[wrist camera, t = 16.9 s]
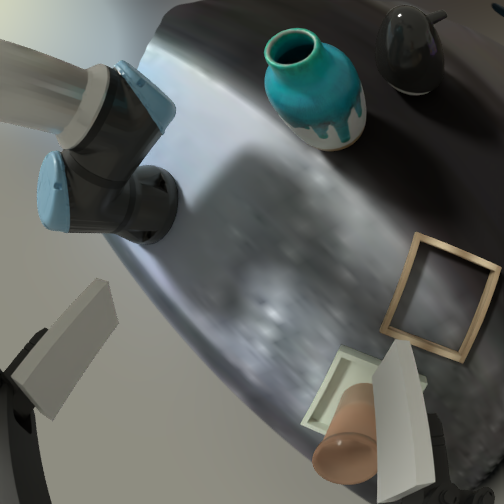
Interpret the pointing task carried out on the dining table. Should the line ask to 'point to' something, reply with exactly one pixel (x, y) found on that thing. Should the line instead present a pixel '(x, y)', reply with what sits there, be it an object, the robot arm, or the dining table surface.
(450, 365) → the dining table surface
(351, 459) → the canister
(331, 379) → the green tray
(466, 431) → the dining table surface
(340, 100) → the vase
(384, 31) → the pump dispenser
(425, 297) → the dining table surface
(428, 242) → the oak corral
